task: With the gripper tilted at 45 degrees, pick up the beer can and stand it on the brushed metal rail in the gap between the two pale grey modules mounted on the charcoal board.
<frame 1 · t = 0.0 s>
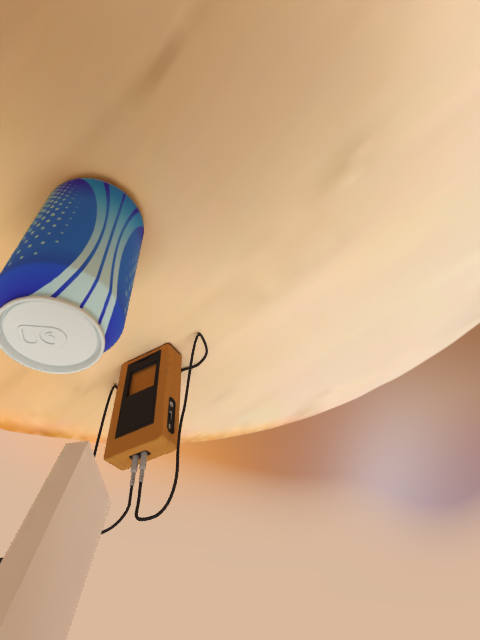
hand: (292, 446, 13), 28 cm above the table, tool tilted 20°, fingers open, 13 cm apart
multimeter: (169, 373, 53), on the table
beer can: (98, 215, 38), on the table
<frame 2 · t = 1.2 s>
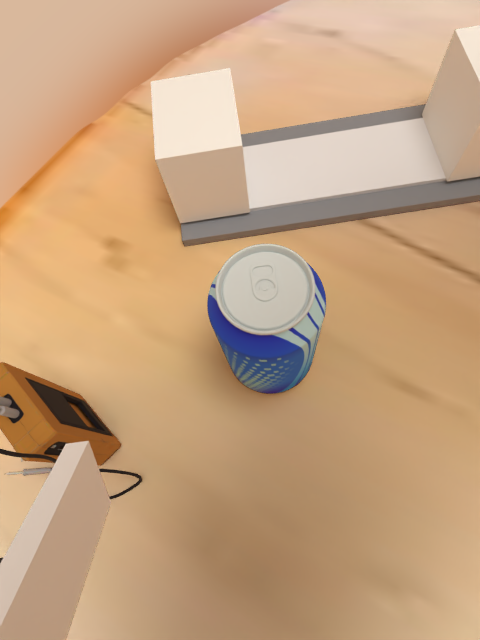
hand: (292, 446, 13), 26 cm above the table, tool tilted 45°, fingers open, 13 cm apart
multimeter: (63, 456, 40), on the table
beer can: (270, 355, 42), on the table
rail board: (336, 172, 49), on the table
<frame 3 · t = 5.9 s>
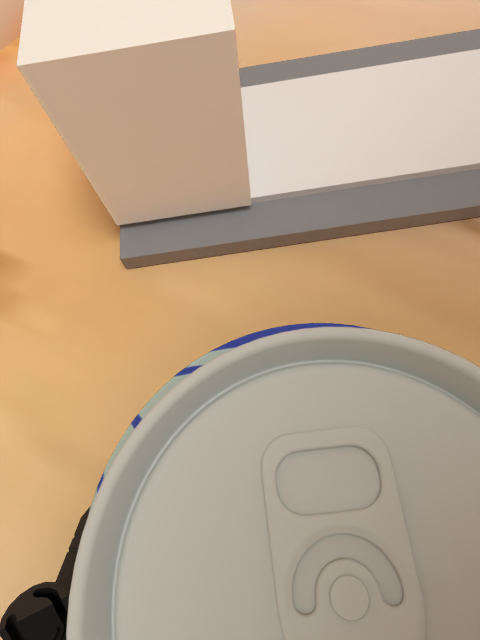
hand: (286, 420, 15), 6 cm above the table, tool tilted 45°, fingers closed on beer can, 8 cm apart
beer can: (295, 509, 20), on the table, touching gripper
rail board: (409, 133, 27), on the table
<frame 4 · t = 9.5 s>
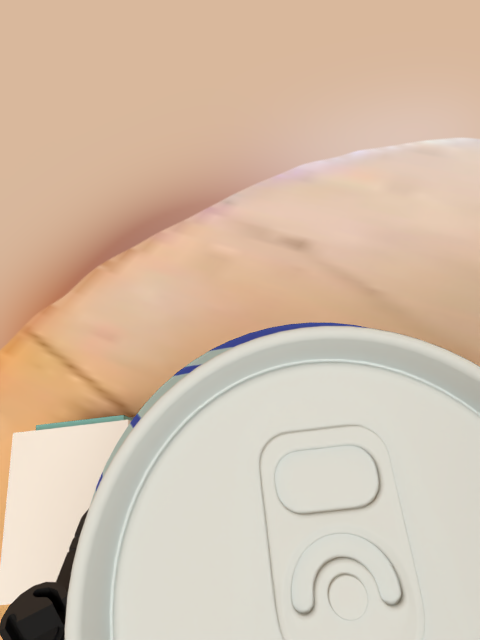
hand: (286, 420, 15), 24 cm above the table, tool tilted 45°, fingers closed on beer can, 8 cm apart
beer can: (294, 509, 20), point 18 cm above the table, touching gripper
rail board: (292, 479, 37), on the table
when the fingers open (9 cm above the table, at t = 13.1 s): beer can drops 1 cm, resting on rail board.
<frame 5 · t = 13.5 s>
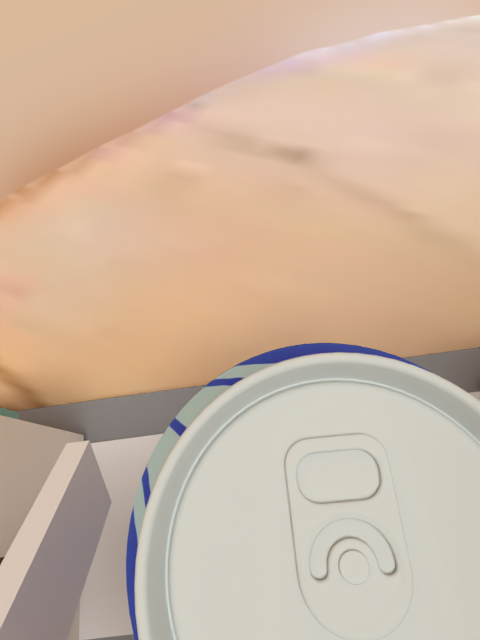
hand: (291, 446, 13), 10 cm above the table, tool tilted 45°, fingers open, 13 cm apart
beer can: (299, 506, 21), point 2 cm above the table, touching rail board
rail board: (292, 506, 22), on the table
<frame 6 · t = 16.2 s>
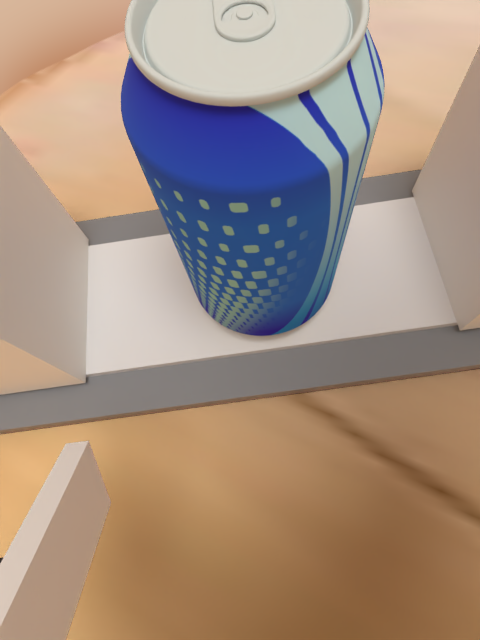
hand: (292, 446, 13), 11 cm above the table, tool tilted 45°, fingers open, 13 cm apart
beer can: (262, 281, 26), point 2 cm above the table, touching rail board
rail board: (259, 292, 27), on the table
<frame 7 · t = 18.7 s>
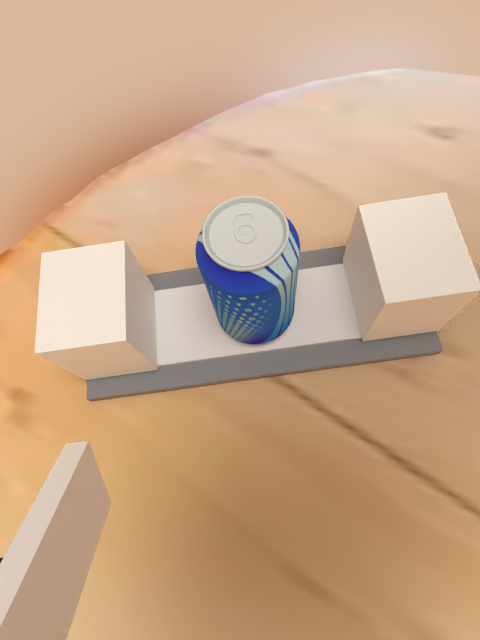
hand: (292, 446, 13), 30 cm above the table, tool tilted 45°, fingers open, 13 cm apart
beer can: (255, 313, 46), point 2 cm above the table, touching rail board
rail board: (253, 318, 47), on the table
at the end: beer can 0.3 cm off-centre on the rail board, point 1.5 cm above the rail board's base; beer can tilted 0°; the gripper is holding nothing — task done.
